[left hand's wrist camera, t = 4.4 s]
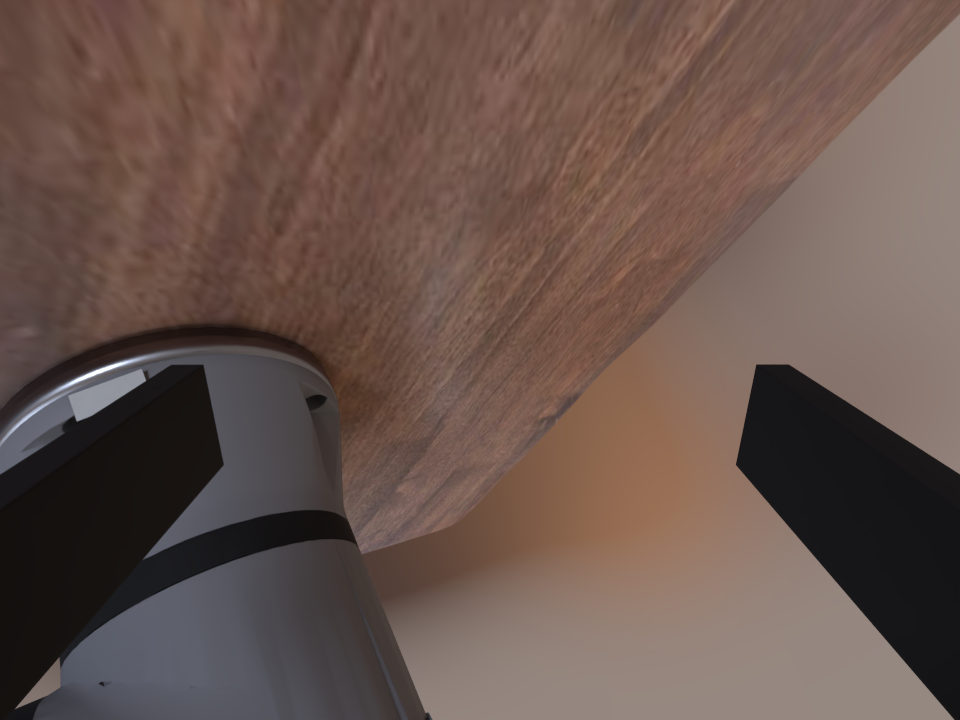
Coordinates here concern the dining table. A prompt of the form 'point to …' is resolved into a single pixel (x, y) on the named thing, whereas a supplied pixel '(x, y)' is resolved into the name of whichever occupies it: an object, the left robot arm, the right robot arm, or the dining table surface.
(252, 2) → the dining table surface
